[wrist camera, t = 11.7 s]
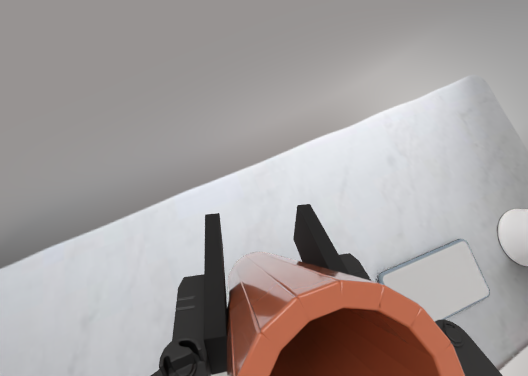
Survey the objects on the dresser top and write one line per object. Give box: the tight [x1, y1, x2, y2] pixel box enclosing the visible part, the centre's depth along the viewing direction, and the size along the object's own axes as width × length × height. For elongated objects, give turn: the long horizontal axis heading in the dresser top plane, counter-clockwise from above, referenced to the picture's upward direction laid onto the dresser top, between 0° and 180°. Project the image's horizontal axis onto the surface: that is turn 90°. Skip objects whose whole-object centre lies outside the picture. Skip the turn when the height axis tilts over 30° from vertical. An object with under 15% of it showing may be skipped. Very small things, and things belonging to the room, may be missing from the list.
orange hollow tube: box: [227, 252, 465, 376], centre depth 11 cm, size 4×4×14 cm
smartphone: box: [378, 239, 490, 322], centre depth 34 cm, size 8×1×15 cm
